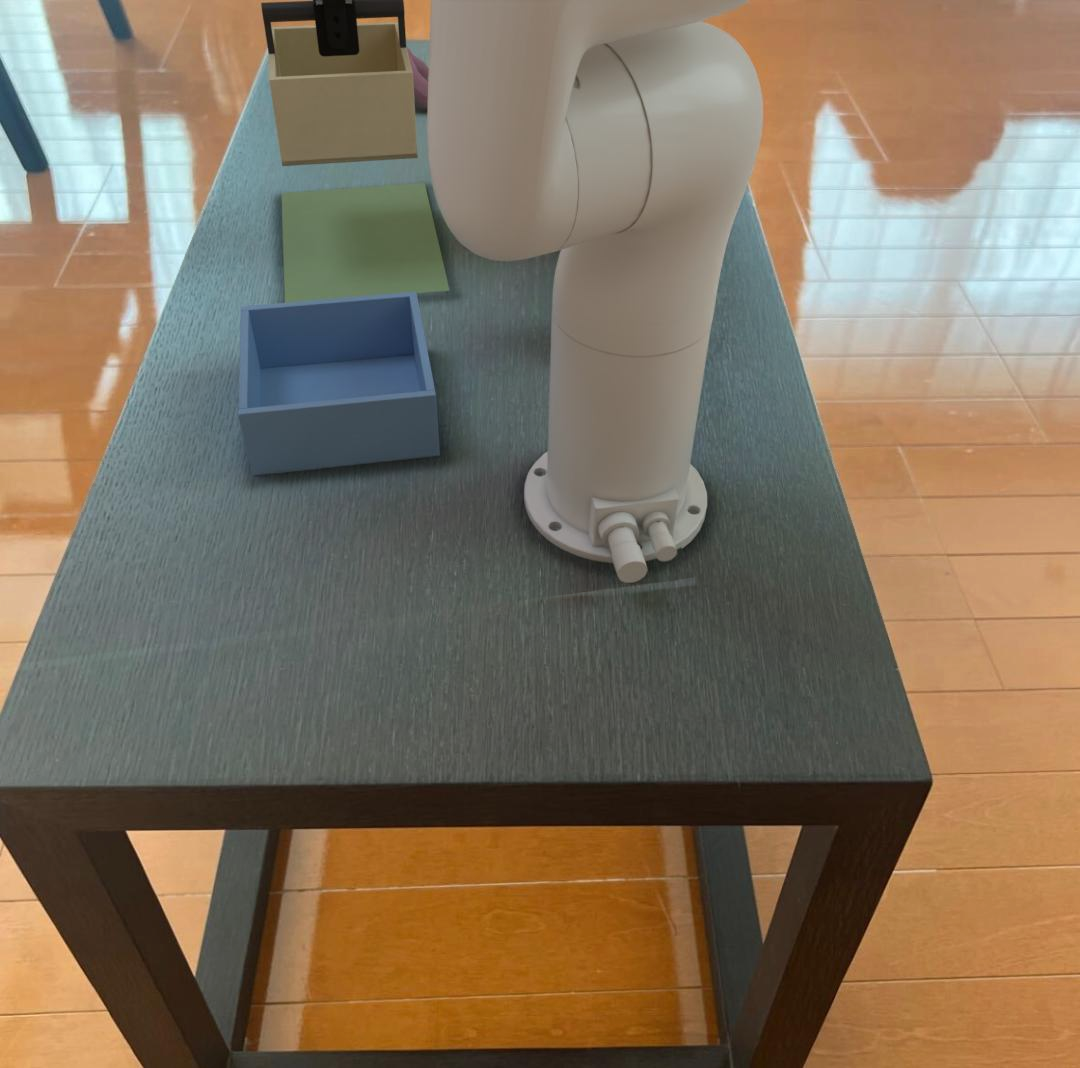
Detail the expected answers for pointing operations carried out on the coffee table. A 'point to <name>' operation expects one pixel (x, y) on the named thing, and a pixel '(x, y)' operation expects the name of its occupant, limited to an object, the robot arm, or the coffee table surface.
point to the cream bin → (341, 88)
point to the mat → (360, 243)
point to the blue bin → (335, 383)
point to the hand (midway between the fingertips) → (338, 47)
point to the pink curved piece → (419, 79)
